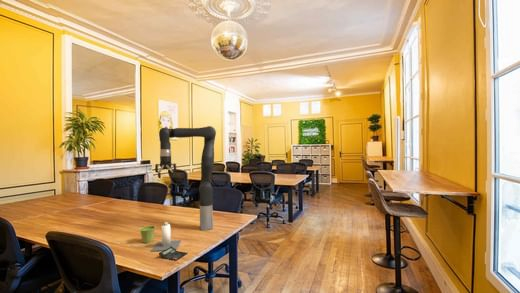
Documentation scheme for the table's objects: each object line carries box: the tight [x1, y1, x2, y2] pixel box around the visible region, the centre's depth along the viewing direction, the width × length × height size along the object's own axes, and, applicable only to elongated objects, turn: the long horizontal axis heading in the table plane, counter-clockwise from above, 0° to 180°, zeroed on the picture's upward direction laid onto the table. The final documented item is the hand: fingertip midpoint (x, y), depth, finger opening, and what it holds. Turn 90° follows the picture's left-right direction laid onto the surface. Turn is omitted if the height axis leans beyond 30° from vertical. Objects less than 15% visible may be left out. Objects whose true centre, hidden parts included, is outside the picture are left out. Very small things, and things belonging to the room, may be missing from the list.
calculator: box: [158, 246, 188, 262], centre depth 133 cm, size 9×12×3 cm
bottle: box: [160, 221, 172, 247], centre depth 146 cm, size 5×5×14 cm
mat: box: [150, 239, 182, 253], centre depth 146 cm, size 14×14×1 cm
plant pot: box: [139, 225, 157, 244], centre depth 154 cm, size 9×9×9 cm
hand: (166, 178), depth 174 cm, fingers open, 8 cm apart
